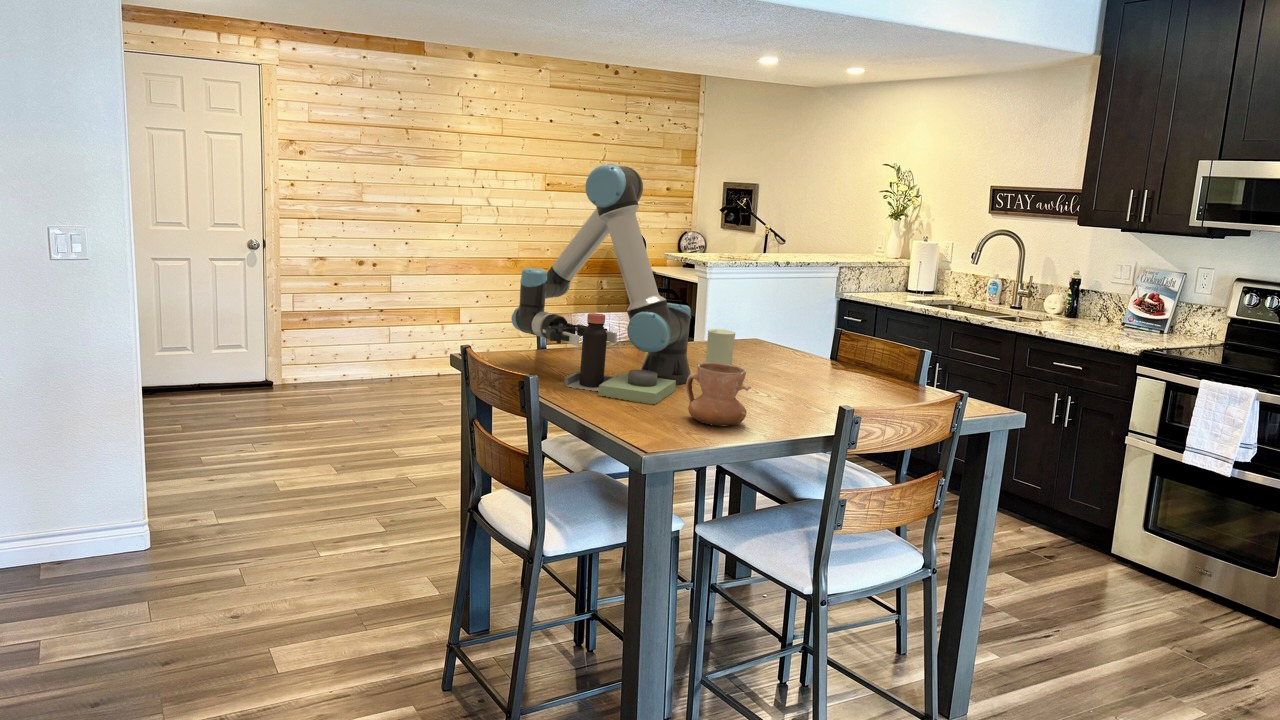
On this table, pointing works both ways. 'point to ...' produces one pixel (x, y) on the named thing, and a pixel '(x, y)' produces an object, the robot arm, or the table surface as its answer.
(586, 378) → the vinegar
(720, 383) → the ceramic jug
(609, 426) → the table surface
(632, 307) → the robot arm
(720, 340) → the can
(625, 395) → the green slab with knob
